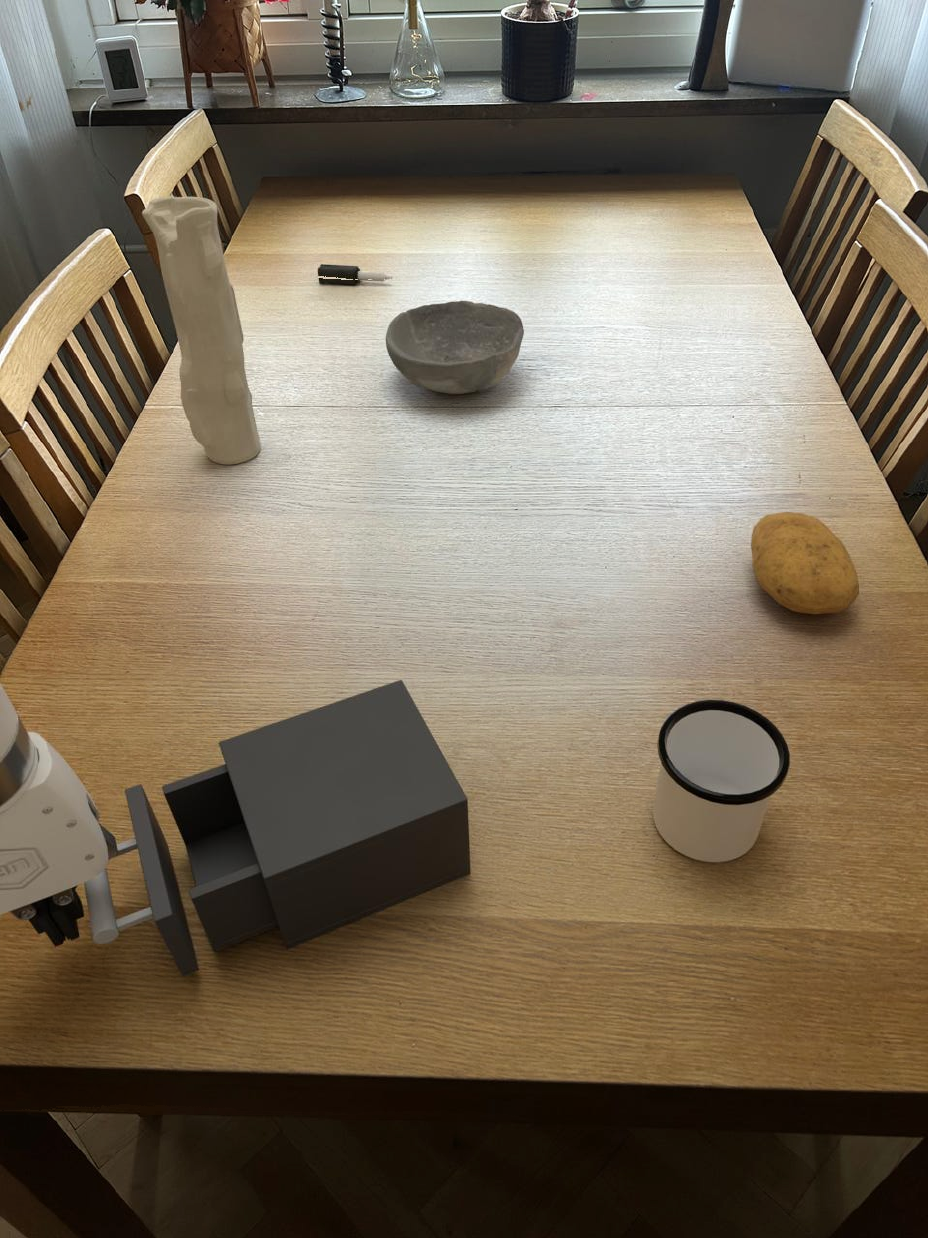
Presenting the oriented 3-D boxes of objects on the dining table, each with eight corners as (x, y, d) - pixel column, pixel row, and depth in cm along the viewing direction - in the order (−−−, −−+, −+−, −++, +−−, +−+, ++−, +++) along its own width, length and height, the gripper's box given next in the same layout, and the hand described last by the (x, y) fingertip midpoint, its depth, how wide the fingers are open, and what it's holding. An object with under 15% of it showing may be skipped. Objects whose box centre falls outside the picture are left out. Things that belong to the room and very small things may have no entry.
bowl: (362, 387, 125) (356, 331, 119) (448, 338, 134) (446, 285, 129) (463, 432, 116) (461, 373, 111) (548, 376, 126) (550, 320, 120)
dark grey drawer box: (286, 950, 67) (263, 879, 60) (242, 816, 75) (218, 741, 69) (471, 873, 71) (468, 799, 64) (409, 755, 79) (401, 679, 73)
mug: (770, 878, 70) (797, 807, 64) (643, 862, 71) (657, 792, 65) (759, 753, 79) (781, 680, 72) (646, 741, 80) (658, 668, 74)
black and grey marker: (319, 284, 149) (391, 288, 147) (317, 269, 148) (390, 273, 146) (323, 277, 151) (395, 281, 149) (321, 262, 149) (393, 266, 148)
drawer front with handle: (119, 1003, 63) (84, 948, 58) (95, 870, 71) (62, 810, 66) (365, 903, 68) (353, 843, 63) (317, 788, 76) (304, 726, 71)
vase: (272, 463, 112) (221, 207, 92) (202, 478, 110) (133, 221, 90) (259, 427, 118) (208, 180, 98) (192, 441, 116) (125, 192, 96)
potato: (763, 635, 89) (778, 581, 84) (731, 551, 98) (743, 497, 93) (859, 631, 89) (880, 576, 84) (818, 547, 98) (834, 493, 93)
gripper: (-192, 866, 48) (-46, 1019, 60) (106, 764, 52) (183, 927, 64) (-185, 760, 53) (-52, 922, 65) (86, 675, 57) (161, 842, 69)
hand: (65, 924), depth 65 cm, fingers closed
